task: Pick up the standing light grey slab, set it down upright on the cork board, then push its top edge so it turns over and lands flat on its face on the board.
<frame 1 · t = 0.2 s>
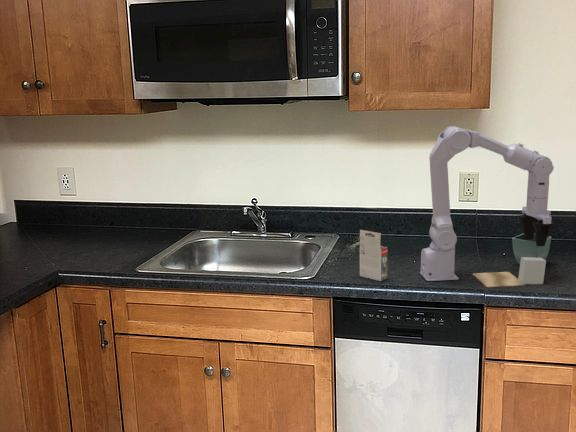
hand: (534, 242, 192), 10 cm above the worktop, fingers open, 7 cm apart
board: (498, 280, 190), on the worktop
slab: (530, 282, 187), on the worktop, touching board
flower pot: (530, 265, 203), on the worktop
ink box: (373, 278, 195), on the worktop
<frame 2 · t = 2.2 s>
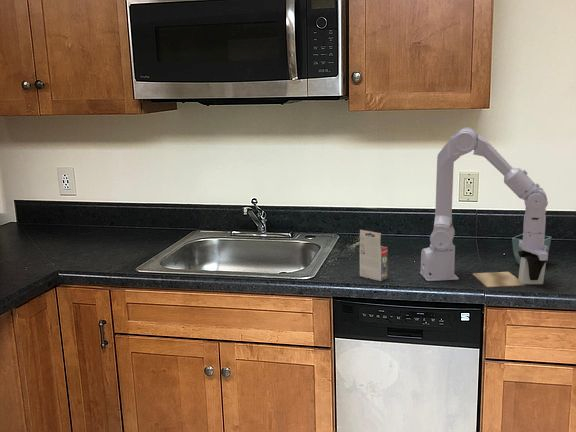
hand: (531, 277, 186), 2 cm above the worktop, fingers closed on slab, 3 cm apart
slab: (530, 282, 187), on the worktop, touching board, gripper
everything else where it was.
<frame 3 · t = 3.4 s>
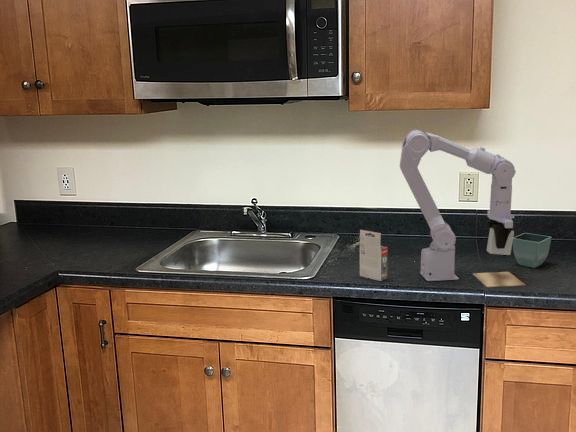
hand: (498, 246, 191), 9 cm above the worktop, fingers closed on slab, 3 cm apart
slab: (498, 252, 191), point 7 cm above the worktop, tilted 7°, touching gripper
everything else where it was.
when the fingers open (3 cm above the worktop, at t = 5.0 s): slab stays where it is, resting on board.
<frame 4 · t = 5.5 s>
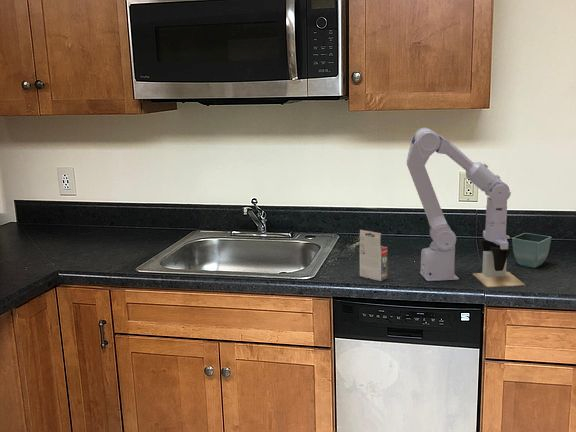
hand: (493, 266, 193), 3 cm above the worktop, fingers open, 7 cm apart
slab: (494, 275, 194), resting on board
everything else where it was.
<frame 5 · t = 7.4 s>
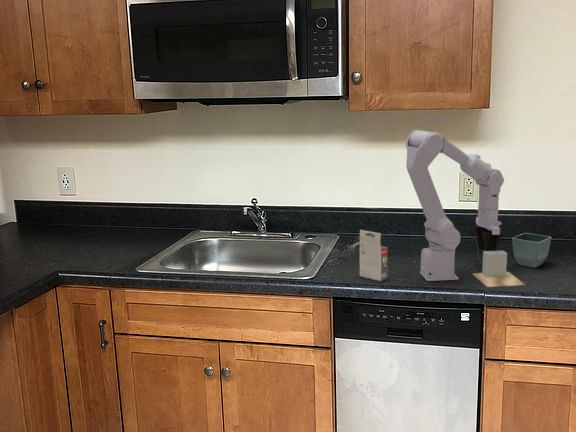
hand: (486, 252, 199), 6 cm above the worktop, fingers open, 6 cm apart
nothing on the worktop moved.
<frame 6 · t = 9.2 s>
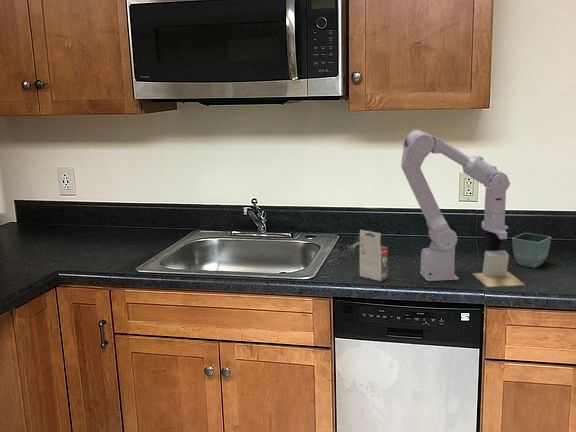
hand: (492, 256, 194), 6 cm above the worktop, fingers closed
slab: (494, 274, 193), point 1 cm above the worktop, tilted 12°, touching board
everything else where it was.
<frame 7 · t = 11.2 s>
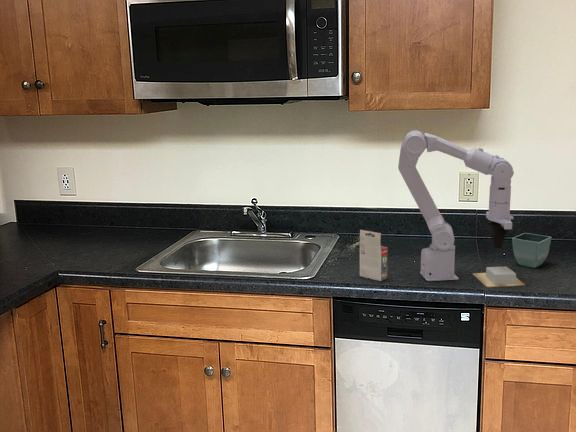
hand: (497, 247, 190), 9 cm above the worktop, fingers closed
slab: (496, 271, 192), point 2 cm above the worktop, tilted 90°, touching board
everything else where it was.
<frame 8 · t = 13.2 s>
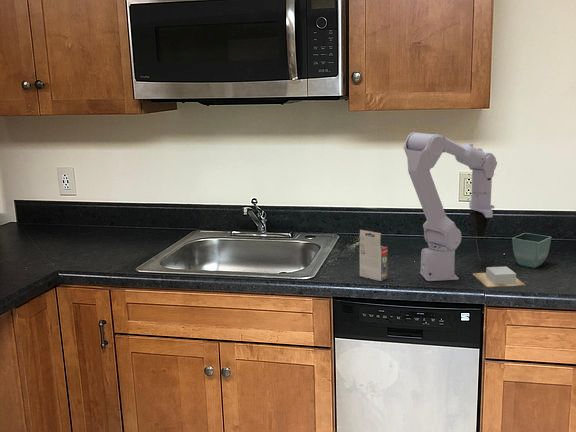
hand: (479, 235, 201), 10 cm above the worktop, fingers closed
nothing on the worktop moved.
at the end: slab tilted 90°; slab inside the target area on the board (2.5 cm from its centre), point 1.9 cm above the board's base; the gripper is holding nothing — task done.
